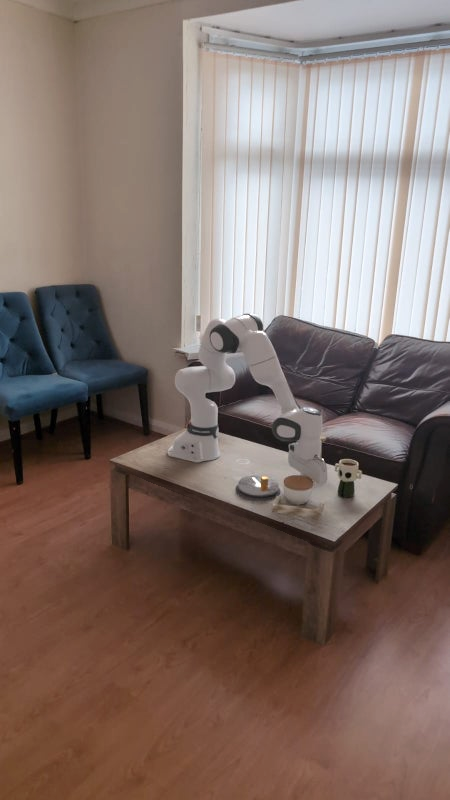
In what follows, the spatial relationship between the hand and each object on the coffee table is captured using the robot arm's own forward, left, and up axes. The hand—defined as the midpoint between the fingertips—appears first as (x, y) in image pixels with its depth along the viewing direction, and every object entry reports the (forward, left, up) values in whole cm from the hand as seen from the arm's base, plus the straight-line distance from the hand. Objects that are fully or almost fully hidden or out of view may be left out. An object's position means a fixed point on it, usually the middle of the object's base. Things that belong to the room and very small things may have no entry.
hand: (306, 485), depth 230 cm
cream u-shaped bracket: (-1, -14, -3) cm, 15 cm away
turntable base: (-18, -4, -3) cm, 18 cm away
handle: (0, +22, -4) cm, 23 cm away
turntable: (-18, -4, -3) cm, 18 cm away
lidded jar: (-2, -7, -4) cm, 8 cm away
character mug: (+14, +4, -4) cm, 16 cm away
